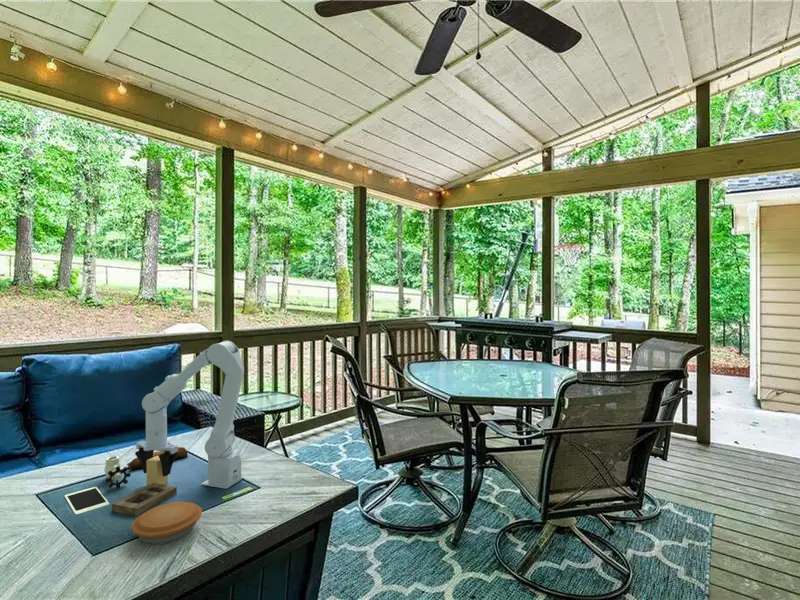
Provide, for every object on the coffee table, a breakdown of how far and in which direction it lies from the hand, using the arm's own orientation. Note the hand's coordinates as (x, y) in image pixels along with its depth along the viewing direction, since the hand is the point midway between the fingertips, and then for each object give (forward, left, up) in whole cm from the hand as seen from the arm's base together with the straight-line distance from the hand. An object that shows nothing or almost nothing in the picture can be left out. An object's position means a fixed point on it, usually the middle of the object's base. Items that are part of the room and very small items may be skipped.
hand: (156, 473), depth 132 cm
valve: (+14, +2, -4) cm, 15 cm away
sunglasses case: (+16, -15, -4) cm, 22 cm away
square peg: (0, 0, -3) cm, 3 cm away
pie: (-25, +20, -4) cm, 32 cm away
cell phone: (+11, +14, -4) cm, 18 cm away
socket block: (-7, +10, -3) cm, 12 cm away
